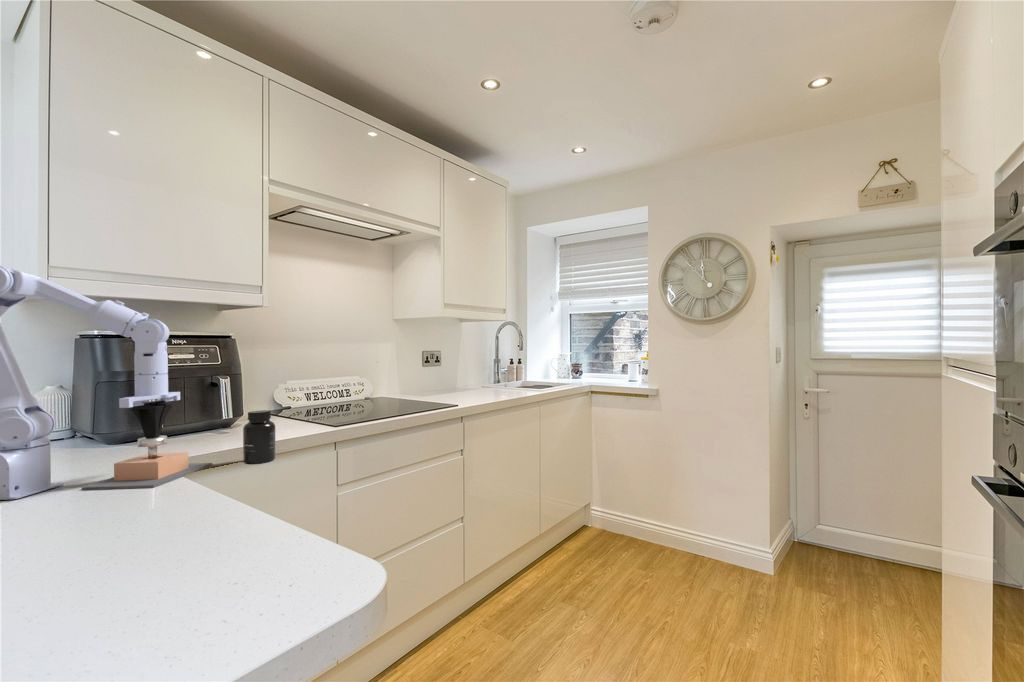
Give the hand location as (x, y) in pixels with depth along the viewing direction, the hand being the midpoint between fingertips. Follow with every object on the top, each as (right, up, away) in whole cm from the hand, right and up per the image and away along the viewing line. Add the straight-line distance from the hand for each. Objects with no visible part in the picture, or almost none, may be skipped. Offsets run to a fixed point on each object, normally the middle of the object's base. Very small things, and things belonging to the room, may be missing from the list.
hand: (152, 437), depth 99 cm
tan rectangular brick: (0, -8, 0) cm, 8 cm away
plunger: (0, -5, 0) cm, 5 cm away
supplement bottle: (+17, -8, +11) cm, 22 cm away
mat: (0, -8, 0) cm, 8 cm away
